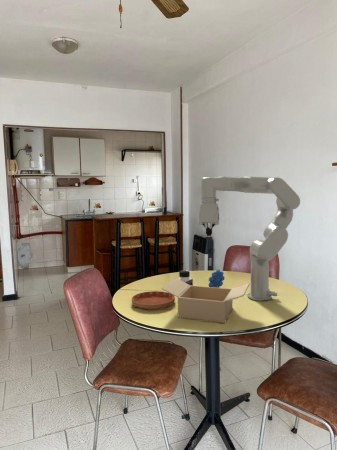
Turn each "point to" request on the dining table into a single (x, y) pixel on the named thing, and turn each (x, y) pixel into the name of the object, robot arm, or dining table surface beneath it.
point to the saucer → (153, 300)
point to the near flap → (237, 292)
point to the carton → (204, 304)
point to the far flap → (175, 287)
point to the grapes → (216, 279)
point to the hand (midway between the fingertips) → (209, 235)
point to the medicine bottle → (185, 277)
